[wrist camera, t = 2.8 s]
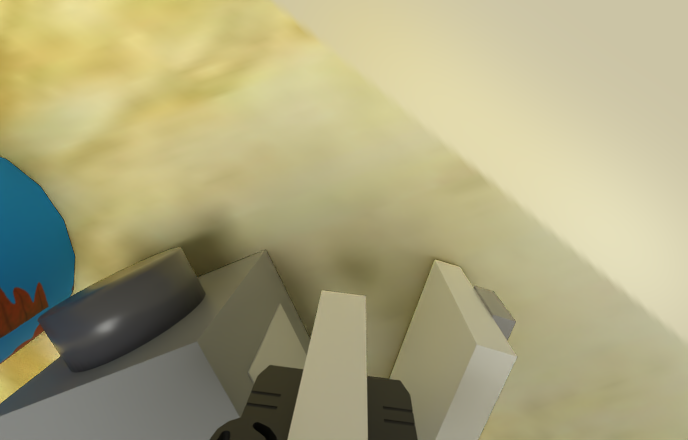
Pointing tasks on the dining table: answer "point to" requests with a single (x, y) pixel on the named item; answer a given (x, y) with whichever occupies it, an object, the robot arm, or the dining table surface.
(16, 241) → the thermos
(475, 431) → the side door
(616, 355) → the dining table surface
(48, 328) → the camera body
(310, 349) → the robot arm
